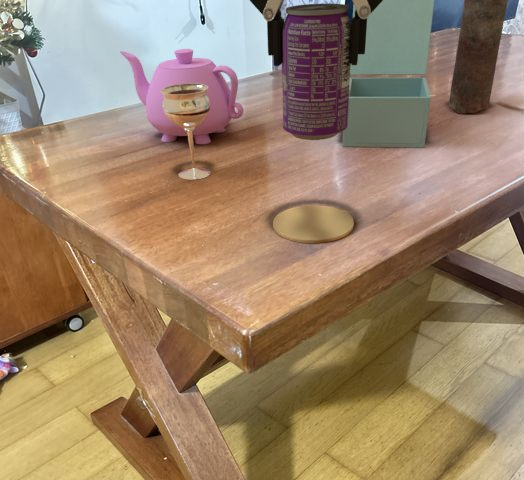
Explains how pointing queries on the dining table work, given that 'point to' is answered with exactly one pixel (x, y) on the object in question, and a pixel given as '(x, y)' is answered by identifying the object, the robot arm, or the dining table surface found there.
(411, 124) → the chest
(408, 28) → the chest lid
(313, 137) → the beverage can
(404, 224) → the dining table surface
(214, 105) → the teapot
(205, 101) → the wineglass
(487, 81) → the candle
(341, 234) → the coaster
